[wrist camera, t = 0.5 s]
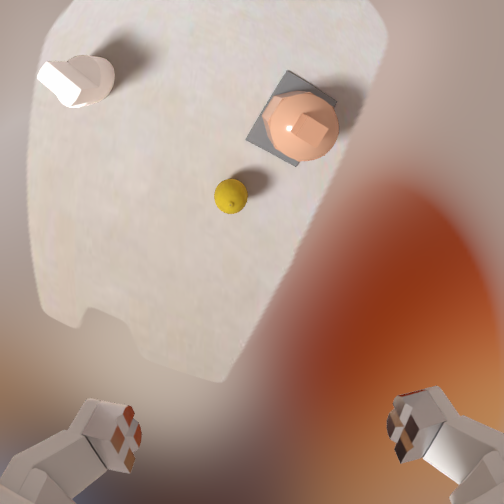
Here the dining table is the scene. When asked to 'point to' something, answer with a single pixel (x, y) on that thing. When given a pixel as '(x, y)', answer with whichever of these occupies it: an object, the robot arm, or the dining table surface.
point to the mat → (285, 86)
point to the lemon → (230, 196)
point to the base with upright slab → (78, 79)
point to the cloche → (301, 125)
